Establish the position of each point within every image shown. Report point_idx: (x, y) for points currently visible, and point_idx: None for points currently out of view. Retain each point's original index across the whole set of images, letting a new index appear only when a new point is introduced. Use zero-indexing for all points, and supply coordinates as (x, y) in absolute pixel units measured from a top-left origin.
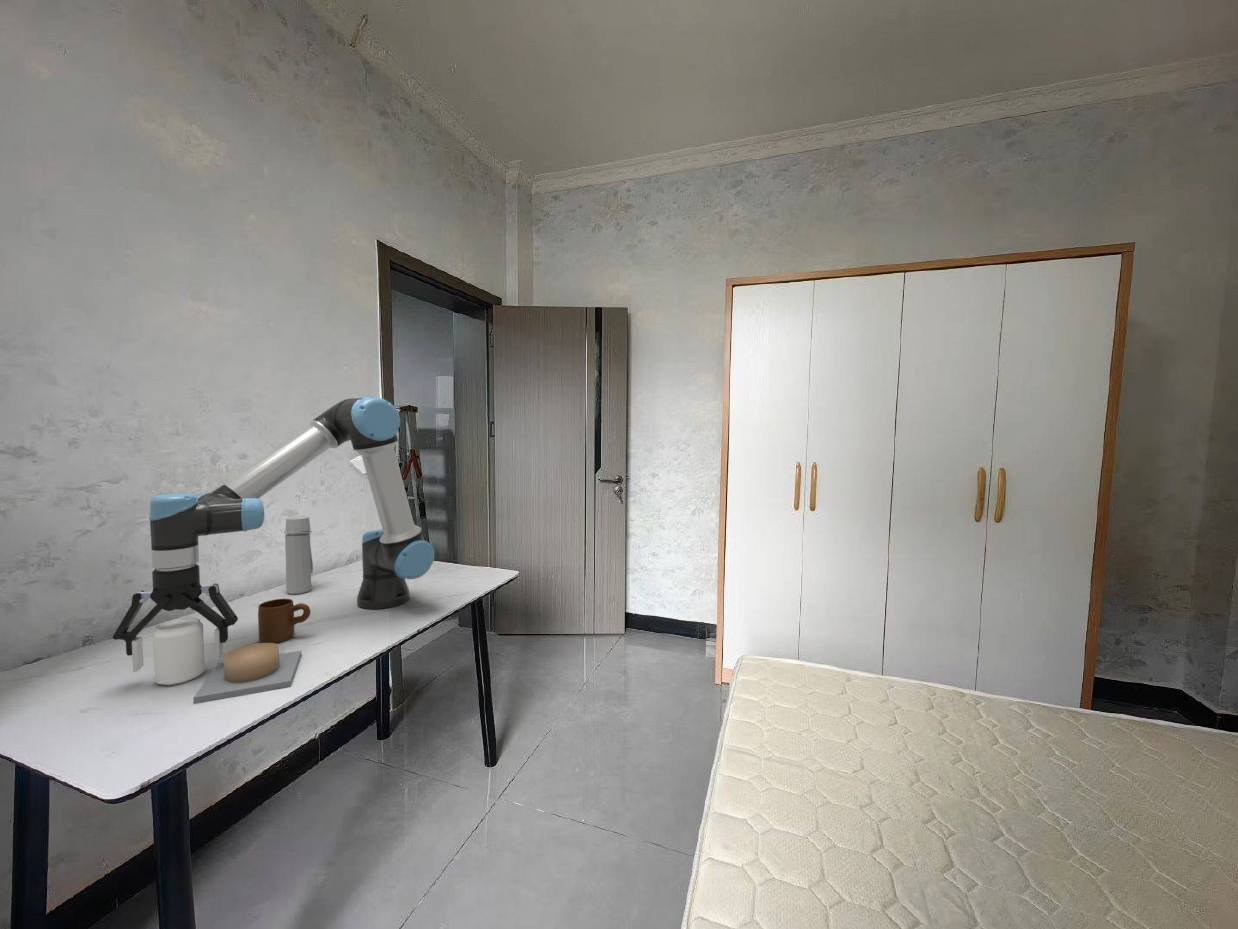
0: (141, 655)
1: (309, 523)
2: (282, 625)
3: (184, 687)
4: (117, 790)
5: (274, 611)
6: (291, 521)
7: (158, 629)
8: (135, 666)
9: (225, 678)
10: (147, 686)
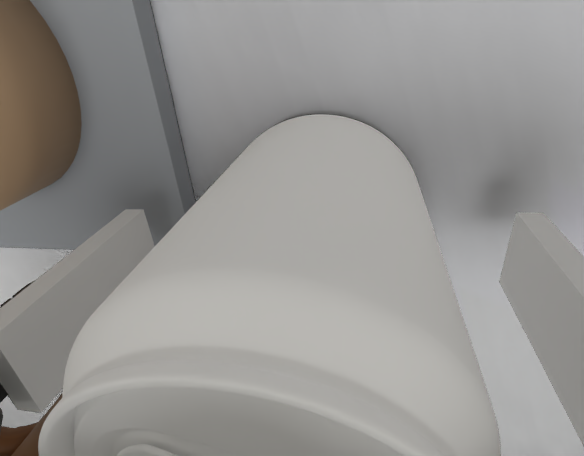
0: (534, 316)
1: None
2: (40, 426)
3: (260, 75)
4: None
5: None
6: None
7: None
8: (543, 229)
9: (27, 8)
10: (444, 163)
